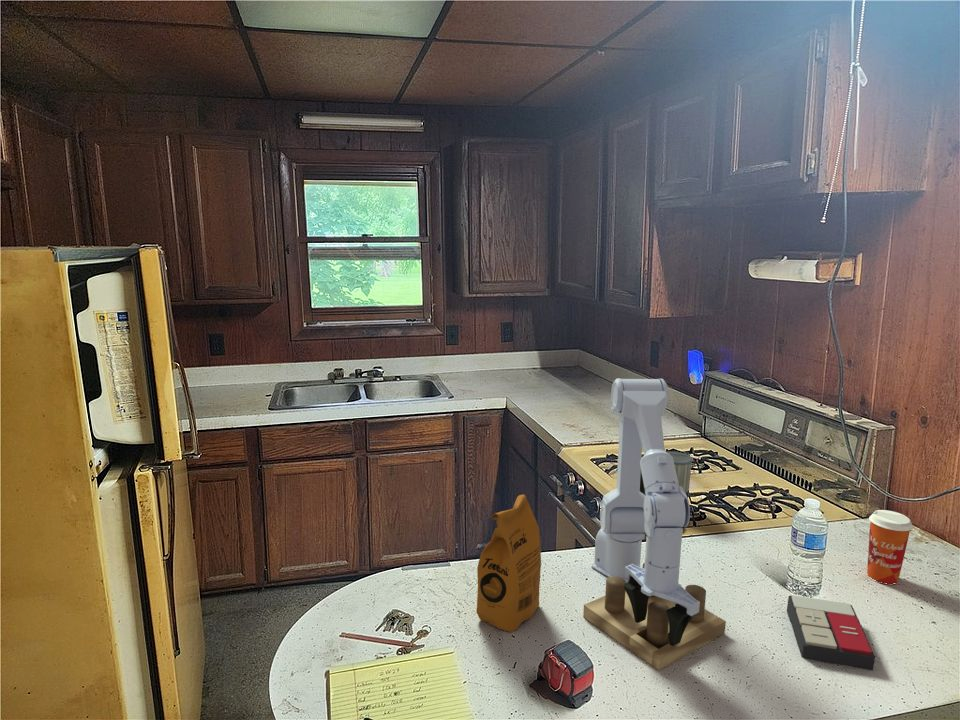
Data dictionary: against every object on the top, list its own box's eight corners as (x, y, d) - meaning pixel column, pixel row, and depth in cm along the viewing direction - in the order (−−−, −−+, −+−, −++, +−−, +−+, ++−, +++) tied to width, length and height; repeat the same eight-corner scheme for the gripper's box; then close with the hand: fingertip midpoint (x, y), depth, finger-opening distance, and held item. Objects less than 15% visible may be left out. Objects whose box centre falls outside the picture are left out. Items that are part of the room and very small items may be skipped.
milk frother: (675, 501, 173) (679, 449, 170) (712, 526, 158) (717, 470, 155) (629, 507, 168) (632, 454, 165) (663, 533, 154) (667, 476, 151)
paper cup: (857, 578, 135) (866, 516, 132) (866, 564, 140) (874, 505, 137) (900, 592, 129) (910, 528, 127) (907, 577, 135) (917, 516, 132)
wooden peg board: (583, 616, 120) (585, 578, 118) (647, 588, 130) (650, 552, 128) (658, 670, 105) (661, 627, 104) (724, 633, 115) (728, 593, 114)
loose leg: (640, 647, 111) (643, 606, 110) (654, 640, 113) (657, 599, 112) (656, 658, 108) (660, 616, 107) (670, 651, 110) (674, 609, 109)
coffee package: (467, 618, 119) (468, 509, 115) (504, 589, 129) (506, 487, 125) (512, 638, 113) (515, 524, 109) (547, 606, 123) (550, 500, 119)
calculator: (804, 641, 108) (788, 591, 122) (801, 663, 109) (786, 610, 123) (877, 654, 105) (852, 600, 119) (873, 675, 106) (849, 620, 120)
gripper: (614, 548, 111) (610, 618, 114) (682, 586, 99) (676, 663, 102) (641, 538, 115) (637, 605, 118) (710, 573, 103) (703, 647, 106)
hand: (657, 631), depth 110 cm, fingers open, 7 cm apart
